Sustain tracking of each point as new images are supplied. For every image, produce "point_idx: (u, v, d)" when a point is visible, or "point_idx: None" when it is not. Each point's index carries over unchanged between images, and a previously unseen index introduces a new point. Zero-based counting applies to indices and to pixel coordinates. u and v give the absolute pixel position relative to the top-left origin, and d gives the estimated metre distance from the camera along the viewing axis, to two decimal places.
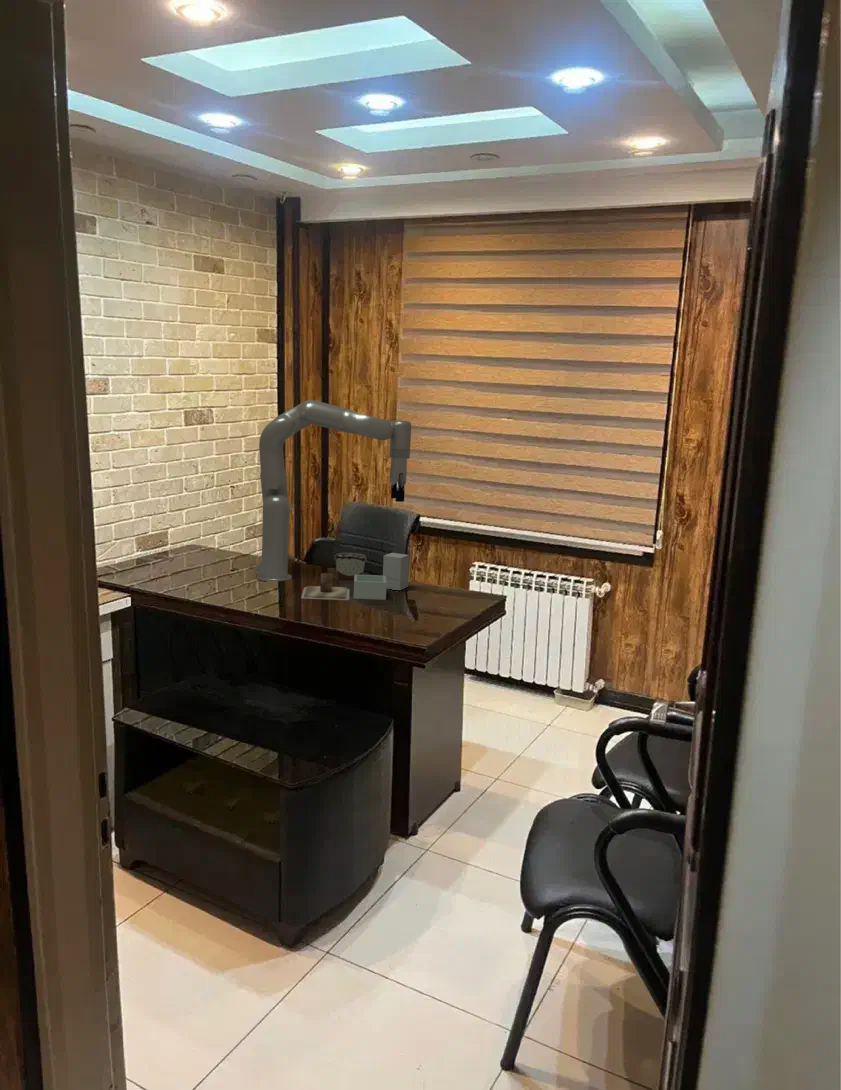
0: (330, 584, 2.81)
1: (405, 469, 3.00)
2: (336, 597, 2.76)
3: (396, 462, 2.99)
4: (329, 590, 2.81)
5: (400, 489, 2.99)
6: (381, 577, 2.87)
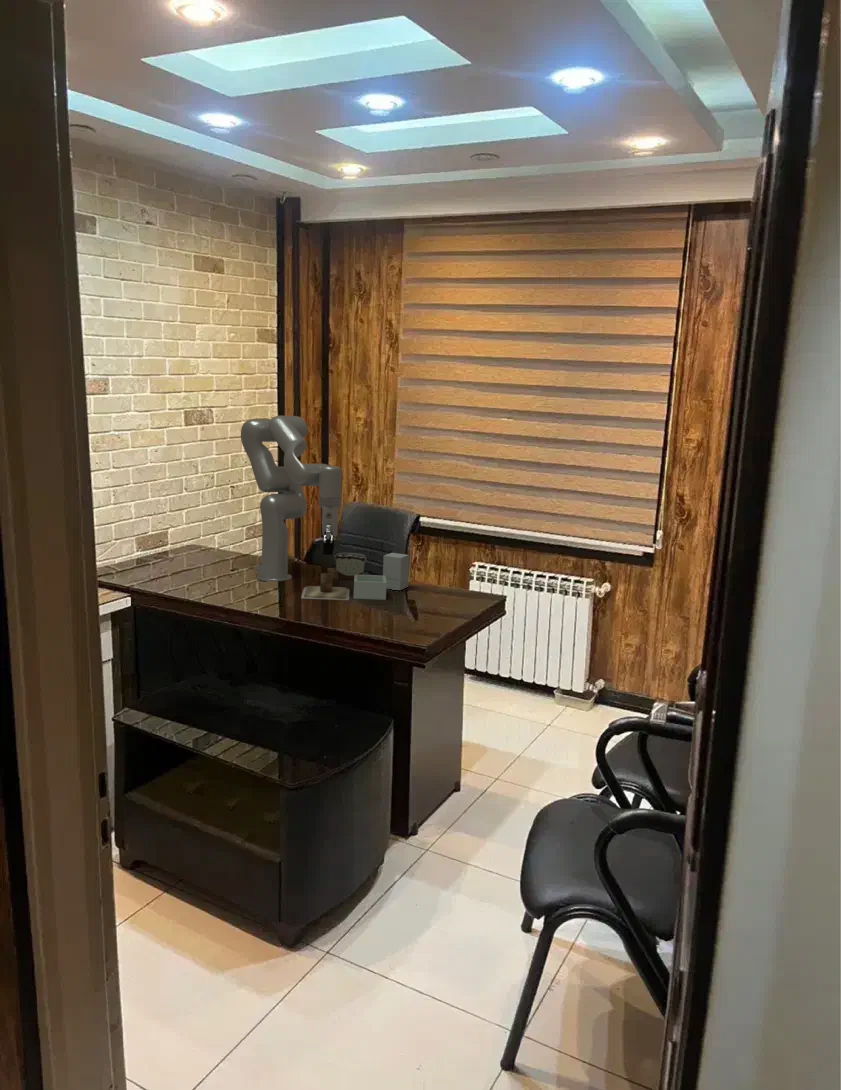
0: (330, 584, 2.81)
1: None
2: (336, 597, 2.76)
3: None
4: (329, 590, 2.81)
5: None
6: (381, 577, 2.87)
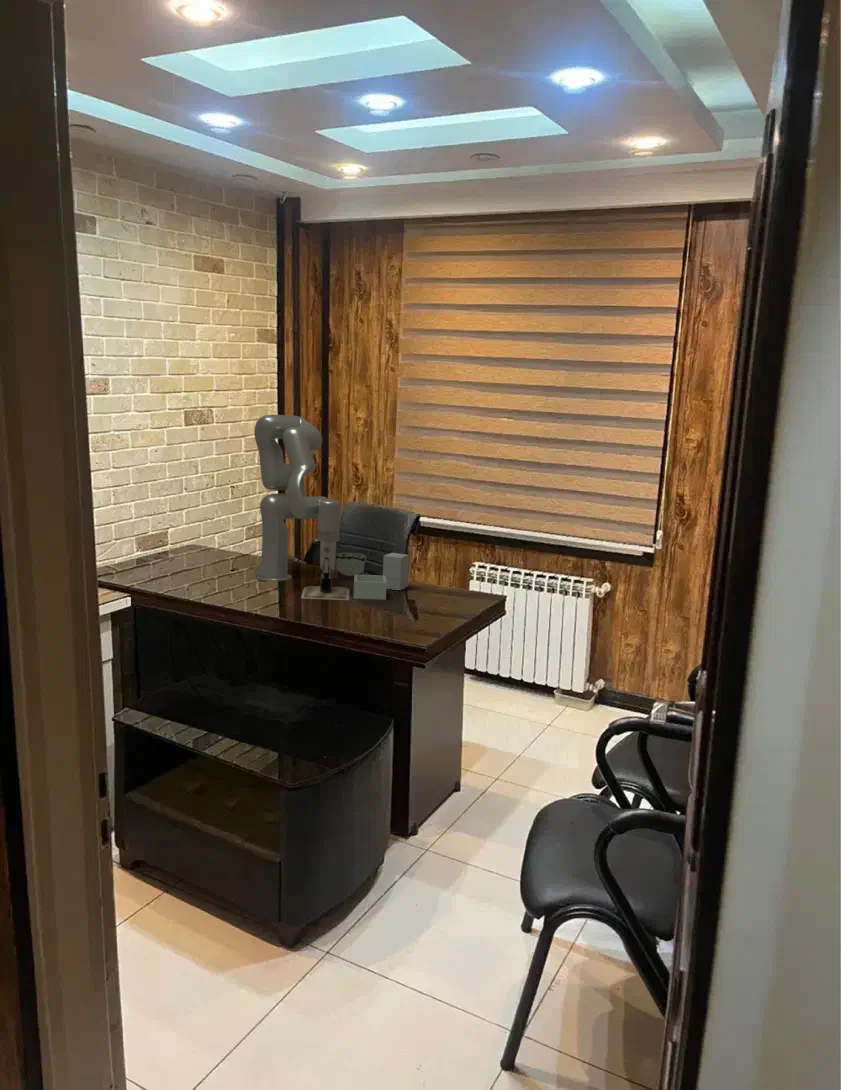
0: None
1: None
2: (336, 597, 2.76)
3: None
4: (329, 590, 2.81)
5: None
6: (381, 577, 2.87)
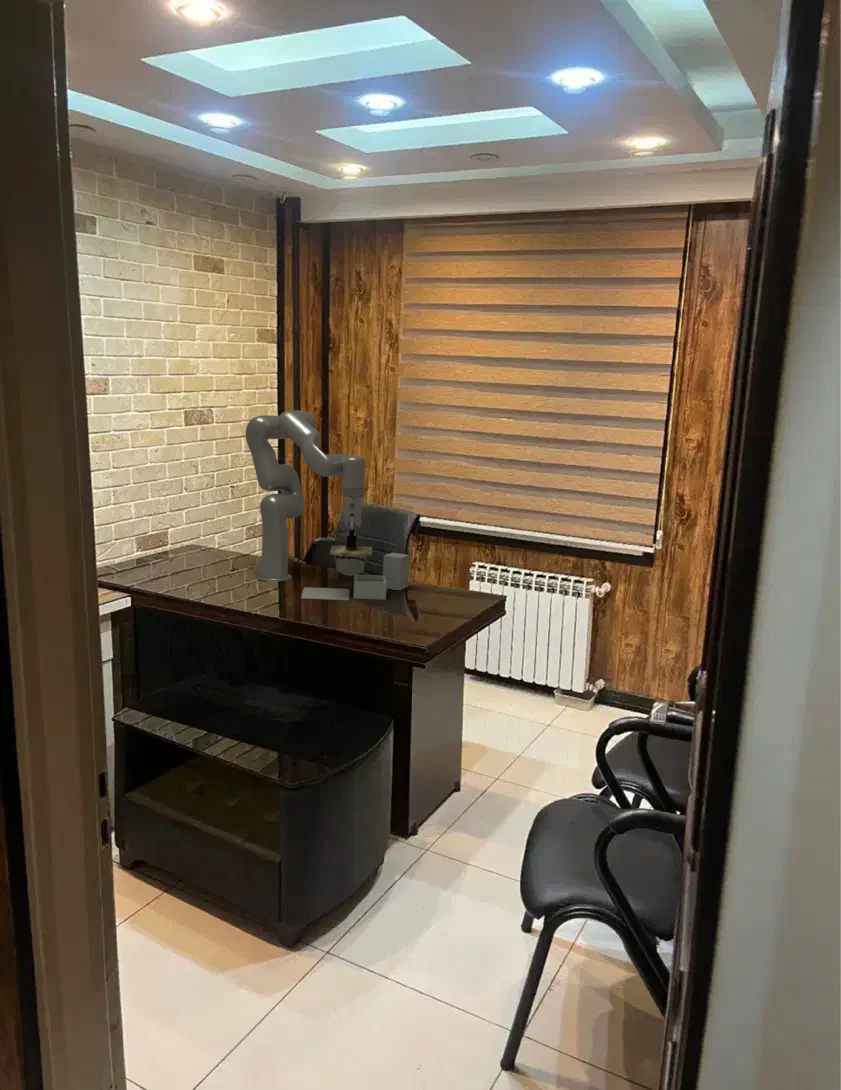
0: None
1: None
2: (362, 554, 2.73)
3: None
4: (354, 548, 2.78)
5: None
6: (381, 577, 2.87)
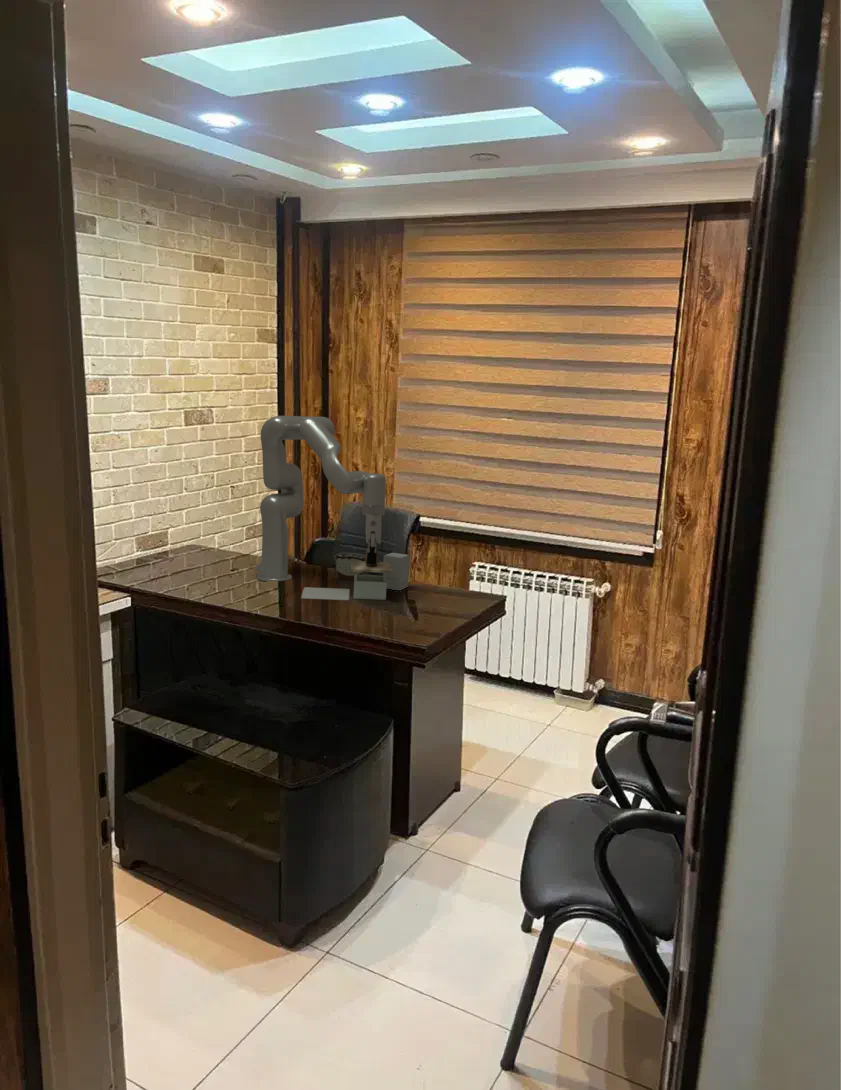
0: None
1: None
2: (382, 571, 2.75)
3: None
4: (375, 564, 2.80)
5: None
6: (381, 577, 2.87)
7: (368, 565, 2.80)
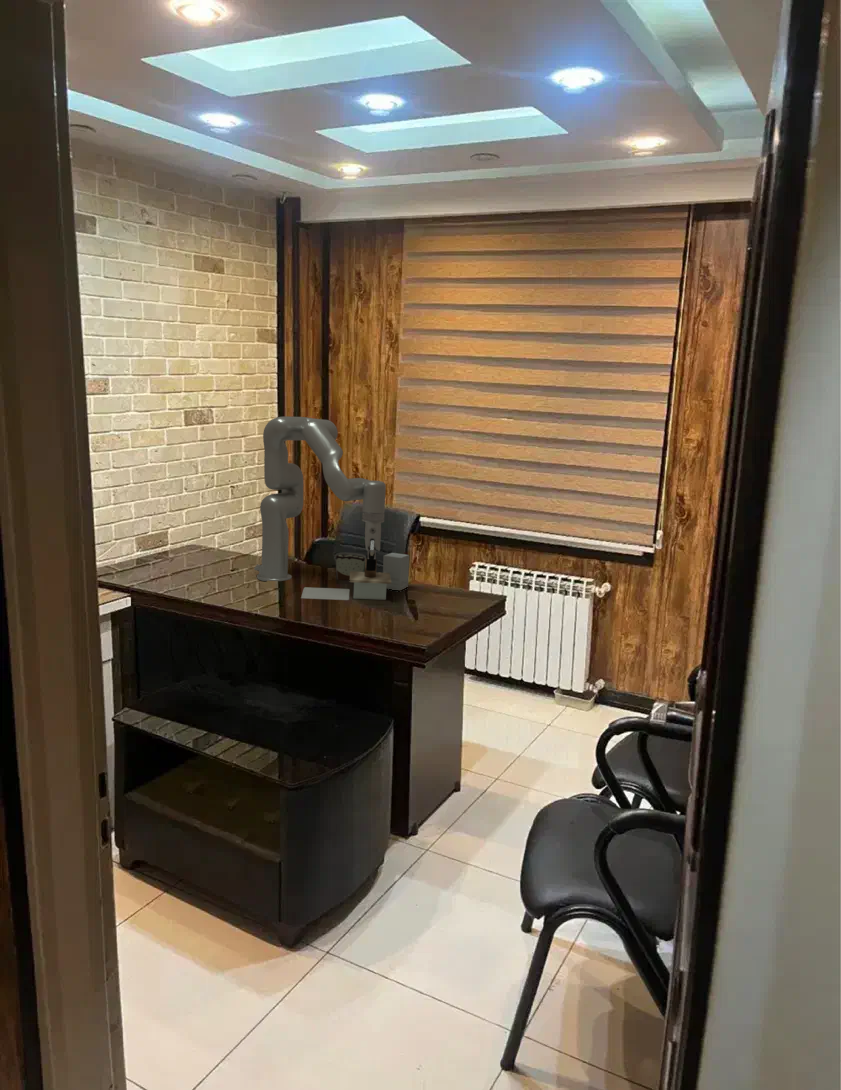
0: None
1: None
2: (381, 582, 2.76)
3: None
4: (373, 575, 2.81)
5: None
6: None
7: (367, 576, 2.81)
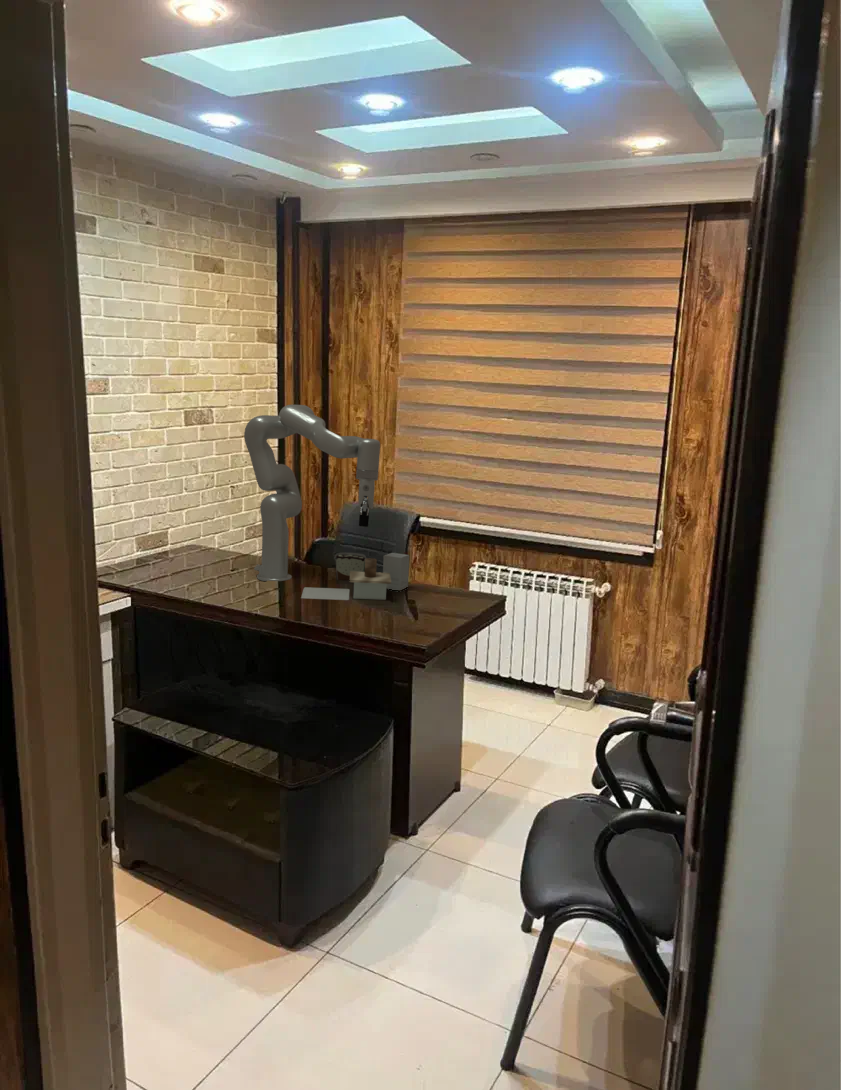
0: (374, 569, 2.81)
1: None
2: (381, 582, 2.76)
3: None
4: (373, 575, 2.81)
5: None
6: None
7: (367, 576, 2.81)
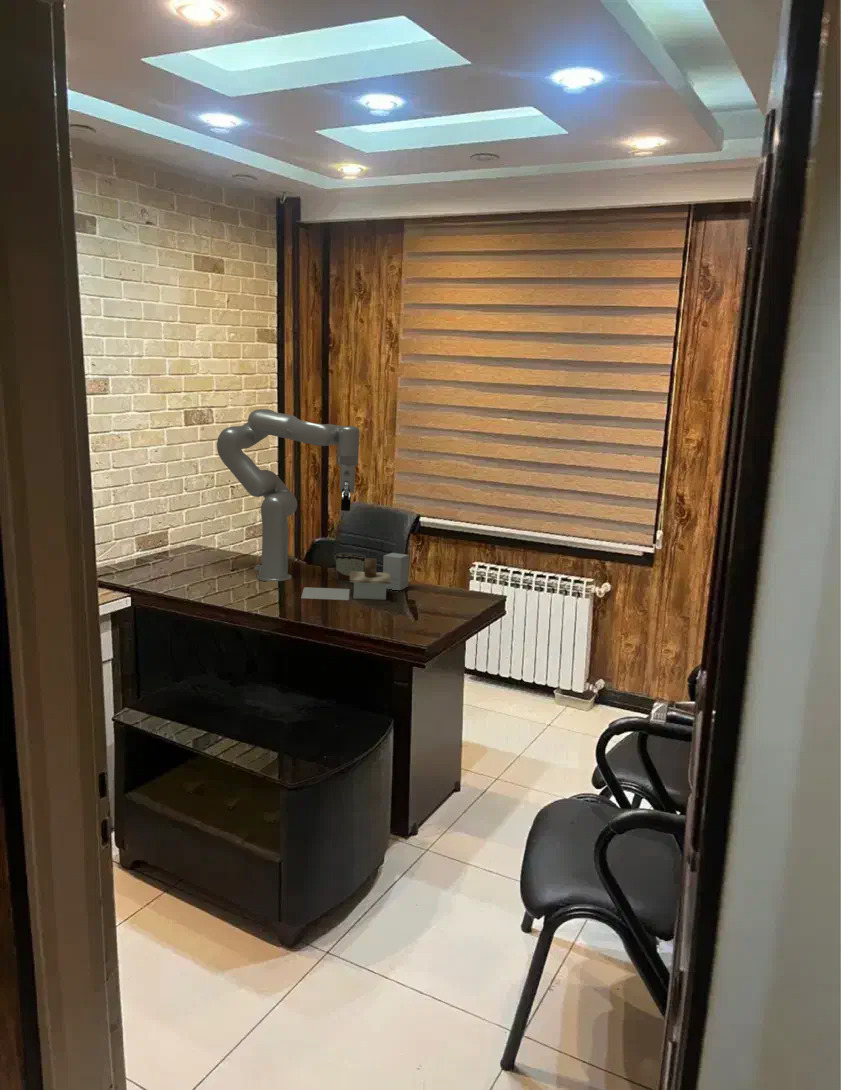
0: (374, 569, 2.81)
1: None
2: (381, 582, 2.76)
3: None
4: (373, 575, 2.81)
5: None
6: None
7: (367, 576, 2.81)
